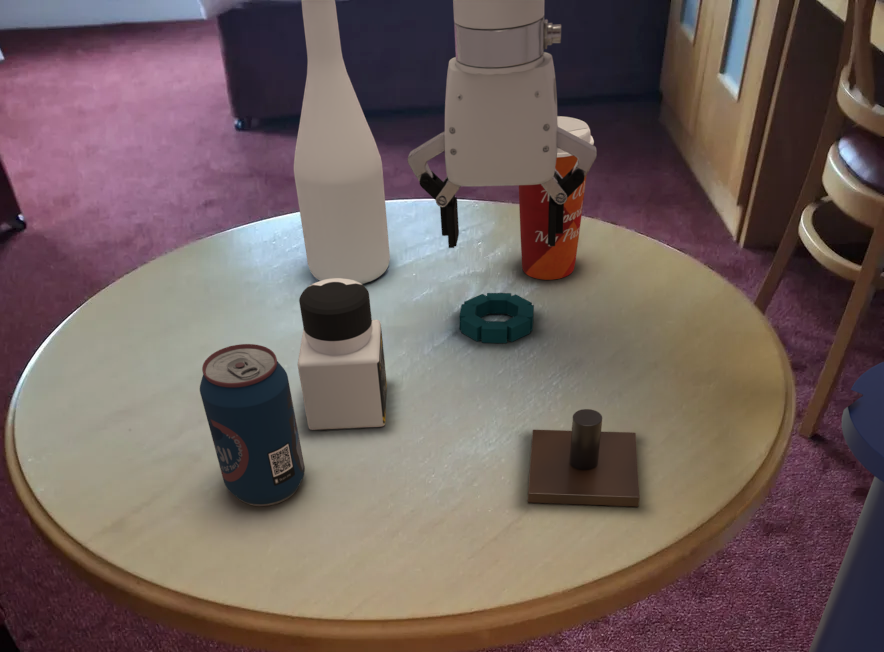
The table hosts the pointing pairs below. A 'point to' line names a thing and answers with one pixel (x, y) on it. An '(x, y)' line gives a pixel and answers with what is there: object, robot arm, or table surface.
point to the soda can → (252, 423)
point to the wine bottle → (337, 163)
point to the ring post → (584, 464)
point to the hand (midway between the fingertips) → (502, 241)
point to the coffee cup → (534, 217)
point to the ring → (496, 329)
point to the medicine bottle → (341, 357)
